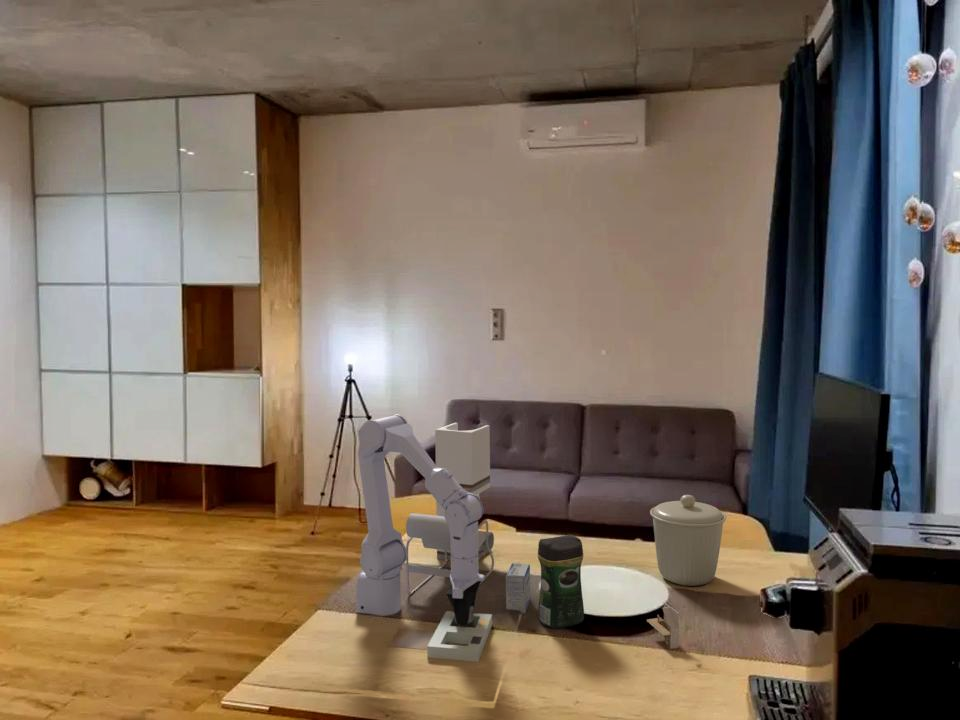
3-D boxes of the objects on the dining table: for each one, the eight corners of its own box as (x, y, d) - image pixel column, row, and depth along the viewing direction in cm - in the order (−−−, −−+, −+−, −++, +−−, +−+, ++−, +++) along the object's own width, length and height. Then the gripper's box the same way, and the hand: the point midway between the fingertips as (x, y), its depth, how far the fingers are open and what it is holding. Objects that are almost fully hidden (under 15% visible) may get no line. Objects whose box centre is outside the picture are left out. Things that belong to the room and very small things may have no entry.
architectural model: (663, 652, 146) (664, 616, 145) (646, 636, 153) (647, 602, 152) (679, 649, 147) (679, 613, 146) (661, 634, 154) (662, 600, 153)
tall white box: (472, 563, 193) (471, 432, 190) (437, 558, 198) (435, 429, 195) (490, 550, 204) (489, 425, 201) (456, 544, 208) (455, 422, 205)
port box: (427, 661, 142) (427, 646, 142) (446, 624, 158) (446, 610, 157) (478, 665, 140) (478, 650, 140) (492, 628, 156) (492, 614, 156)
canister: (696, 561, 194) (697, 483, 192) (740, 587, 177) (742, 501, 175) (635, 570, 188) (636, 489, 186) (675, 597, 171) (677, 508, 169)
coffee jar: (570, 609, 165) (571, 528, 163) (589, 624, 157) (589, 539, 156) (532, 617, 161) (532, 534, 159) (549, 632, 154) (549, 546, 152)
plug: (453, 639, 151) (453, 606, 150) (454, 630, 155) (454, 598, 154) (473, 639, 151) (472, 607, 150) (473, 630, 155) (473, 598, 154)
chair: (405, 598, 172) (404, 516, 170) (447, 562, 195) (446, 489, 193) (458, 607, 167) (457, 522, 165) (495, 568, 190) (494, 494, 189)
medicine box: (525, 614, 163) (525, 576, 162) (505, 612, 164) (505, 575, 163) (530, 599, 170) (530, 563, 170) (511, 598, 171) (511, 562, 170)
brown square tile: (387, 650, 147) (387, 646, 147) (399, 632, 154) (399, 628, 154) (426, 653, 145) (426, 649, 145) (436, 634, 153) (436, 631, 153)
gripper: (477, 568, 144) (477, 635, 145) (489, 543, 158) (490, 605, 159) (441, 566, 145) (442, 632, 146) (457, 542, 159) (458, 602, 160)
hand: (465, 618), depth 153 cm, fingers open, 5 cm apart
